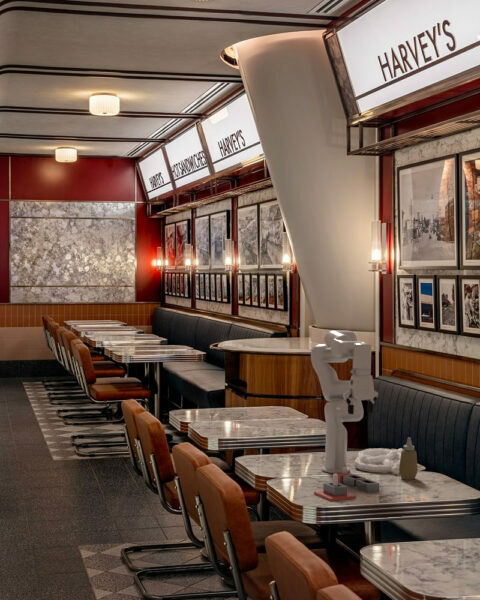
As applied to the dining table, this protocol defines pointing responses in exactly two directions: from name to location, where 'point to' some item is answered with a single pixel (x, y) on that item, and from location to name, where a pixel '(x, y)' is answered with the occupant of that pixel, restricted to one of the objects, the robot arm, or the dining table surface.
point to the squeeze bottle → (408, 462)
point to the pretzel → (378, 460)
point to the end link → (335, 489)
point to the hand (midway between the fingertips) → (360, 413)
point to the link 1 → (351, 480)
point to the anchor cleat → (340, 476)
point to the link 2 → (367, 485)
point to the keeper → (332, 498)
